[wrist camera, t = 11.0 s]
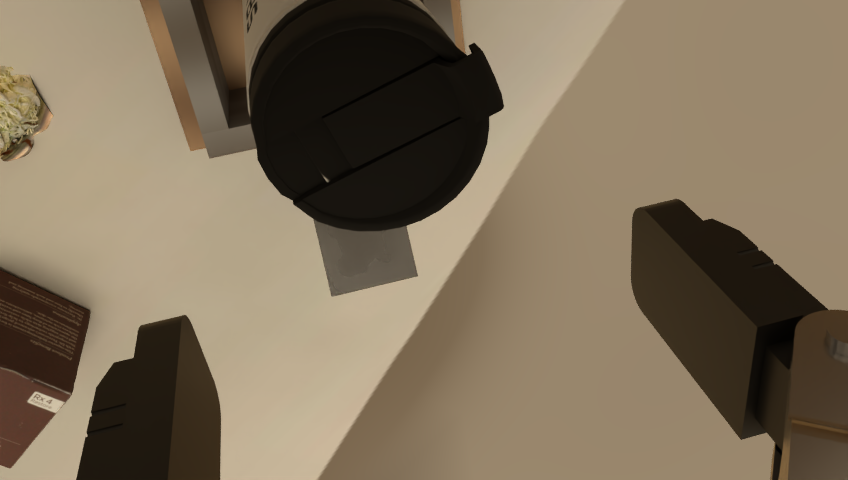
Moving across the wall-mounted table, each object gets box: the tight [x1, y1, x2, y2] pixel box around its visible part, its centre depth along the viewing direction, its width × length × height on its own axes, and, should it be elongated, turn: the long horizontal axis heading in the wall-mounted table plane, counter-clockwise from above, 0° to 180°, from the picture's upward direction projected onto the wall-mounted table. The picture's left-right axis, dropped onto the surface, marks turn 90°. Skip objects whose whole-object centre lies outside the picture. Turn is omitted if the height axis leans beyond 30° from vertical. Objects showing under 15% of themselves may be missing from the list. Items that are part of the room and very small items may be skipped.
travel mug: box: [242, 0, 504, 231], centre depth 27 cm, size 6×7×20 cm
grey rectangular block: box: [314, 220, 418, 296], centre depth 34 cm, size 7×4×1 cm
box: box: [0, 270, 90, 468], centre depth 40 cm, size 6×6×7 cm
